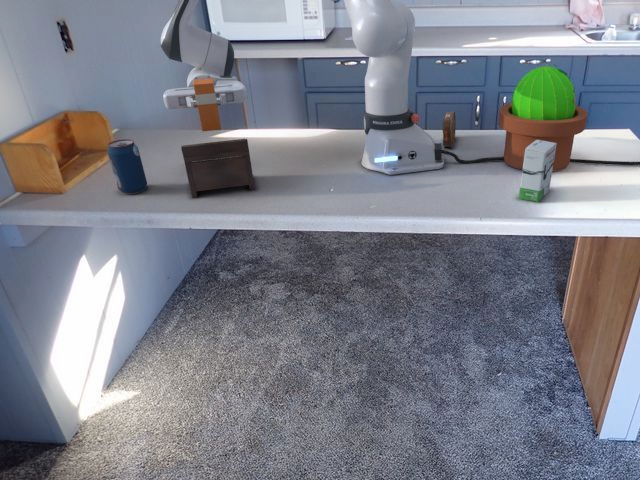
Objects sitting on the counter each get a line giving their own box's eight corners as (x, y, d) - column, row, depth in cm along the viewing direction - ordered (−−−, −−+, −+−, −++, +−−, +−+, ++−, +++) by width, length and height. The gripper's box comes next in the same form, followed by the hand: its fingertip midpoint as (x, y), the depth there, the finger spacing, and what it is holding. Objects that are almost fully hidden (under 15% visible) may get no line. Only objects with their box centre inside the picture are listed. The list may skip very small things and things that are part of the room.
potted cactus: (490, 172, 142) (499, 70, 129) (499, 146, 160) (508, 55, 146) (578, 179, 136) (598, 74, 123) (578, 151, 154) (594, 57, 141)
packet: (219, 123, 139) (212, 78, 133) (221, 129, 134) (213, 83, 128) (201, 125, 138) (192, 79, 132) (202, 131, 133) (193, 84, 127)
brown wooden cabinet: (250, 176, 143) (243, 128, 136) (255, 189, 135) (247, 139, 128) (191, 183, 139) (181, 135, 133) (192, 198, 131) (181, 147, 125)
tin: (451, 151, 157) (452, 121, 152) (440, 150, 158) (441, 121, 153) (455, 135, 169) (457, 108, 165) (445, 135, 170) (446, 107, 166)
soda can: (153, 185, 139) (142, 139, 132) (138, 196, 133) (125, 147, 127) (129, 184, 140) (116, 137, 134) (113, 194, 134) (98, 146, 128)
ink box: (538, 203, 124) (545, 152, 118) (517, 198, 127) (523, 148, 120) (550, 190, 131) (557, 141, 124) (530, 186, 133) (536, 138, 127)
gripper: (160, 82, 139) (159, 93, 128) (241, 75, 144) (247, 86, 133) (166, 107, 143) (165, 120, 131) (245, 100, 148) (251, 112, 136)
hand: (207, 103), depth 132 cm, fingers closed on packet, 4 cm apart
